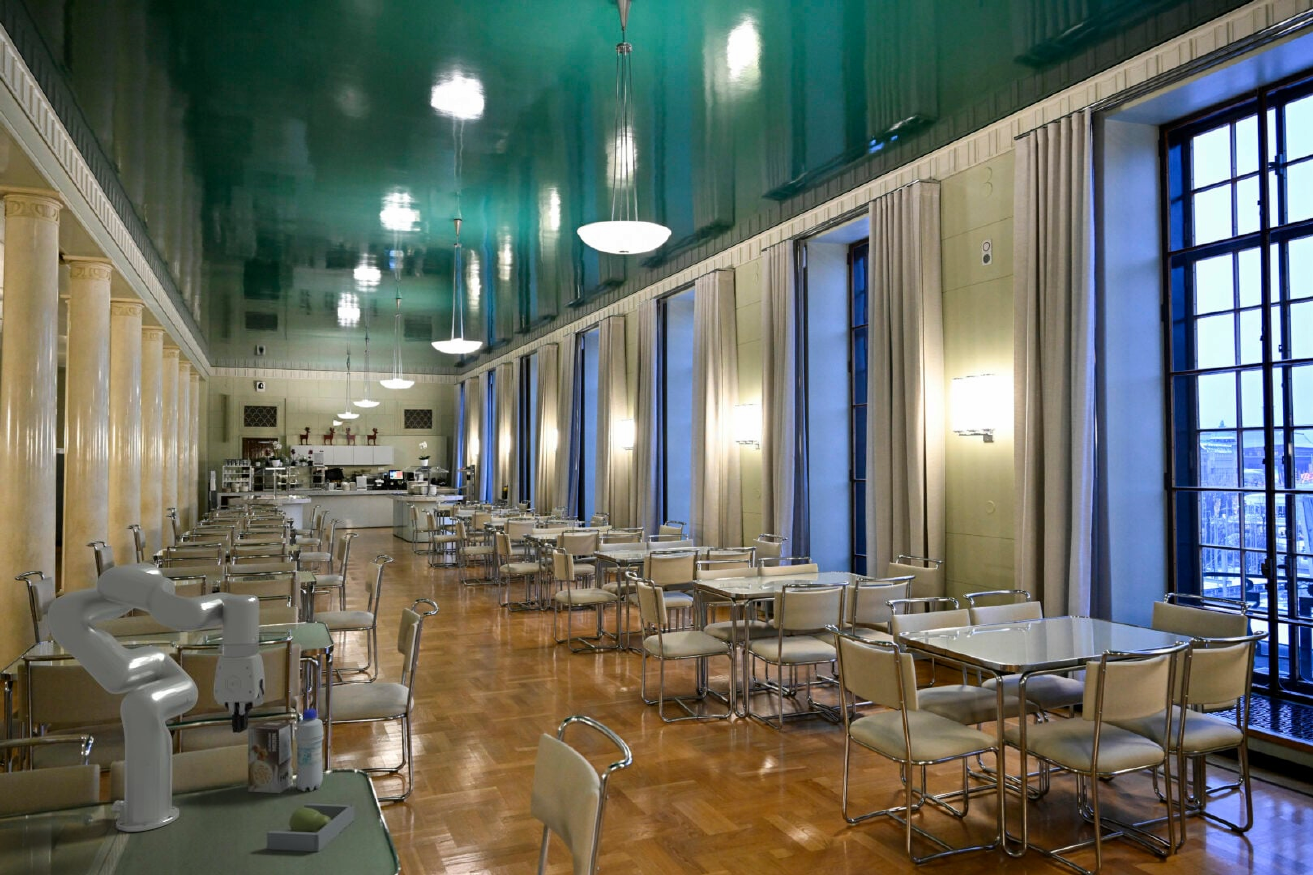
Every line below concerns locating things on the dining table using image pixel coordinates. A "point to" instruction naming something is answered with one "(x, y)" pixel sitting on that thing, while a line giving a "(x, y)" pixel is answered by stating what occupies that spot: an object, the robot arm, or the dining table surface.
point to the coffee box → (270, 757)
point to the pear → (308, 820)
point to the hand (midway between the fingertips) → (240, 730)
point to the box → (313, 841)
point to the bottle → (309, 751)
